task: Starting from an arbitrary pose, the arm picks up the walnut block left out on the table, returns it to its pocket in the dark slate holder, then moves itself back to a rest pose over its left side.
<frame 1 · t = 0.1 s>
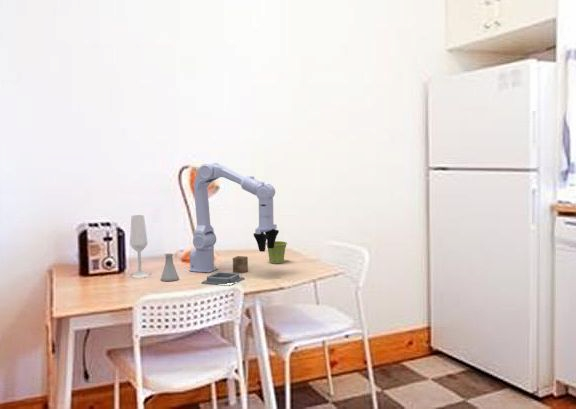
hand: (266, 249, 224), 10 cm above the table, tool pointing down, fingers open, 7 cm apart
holder: (223, 281, 215), on the table
flask: (169, 280, 218), on the table
champagne flute: (140, 276, 225), on the table
block: (240, 271, 231), on the table
plant pot: (276, 262, 249), on the table
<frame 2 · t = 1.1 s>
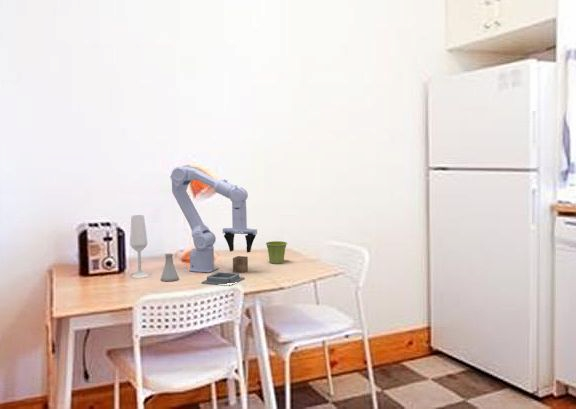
hand: (240, 251, 230), 8 cm above the table, tool pointing down, fingers open, 7 cm apart
nothing on the table moved.
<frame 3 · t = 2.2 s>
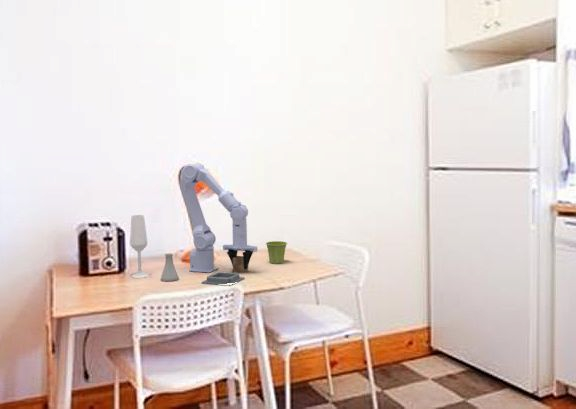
hand: (240, 268, 231), 1 cm above the table, tool pointing down, fingers closed on block, 4 cm apart
block: (240, 271, 231), on the table, touching gripper
everything else where it was.
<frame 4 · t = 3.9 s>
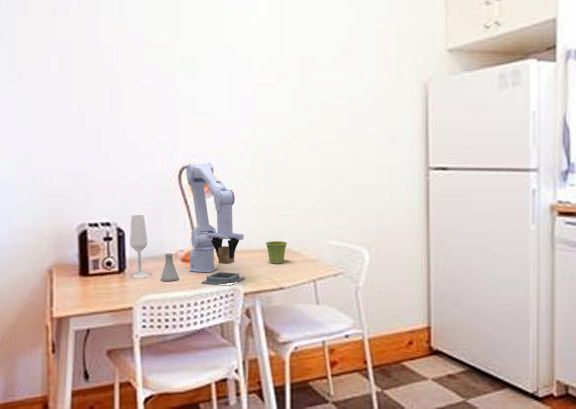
hand: (225, 257, 216), 8 cm above the table, tool pointing down, fingers closed on block, 4 cm apart
block: (226, 262, 217), point 6 cm above the table, touching gripper
everything else where it was.
when the fingers open (3 cm above the table, at t = 5.5 s): block stays where it is, resting on holder.
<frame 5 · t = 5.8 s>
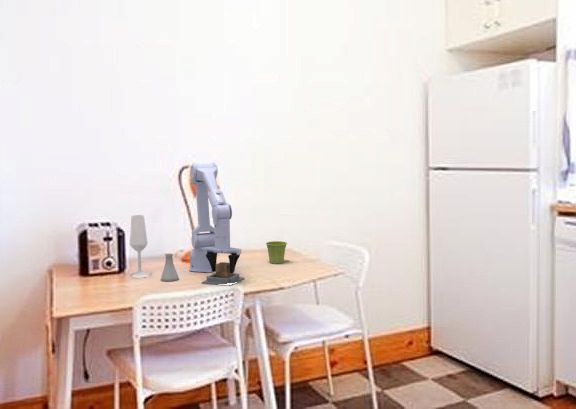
hand: (223, 272, 214), 3 cm above the table, tool pointing down, fingers open, 7 cm apart
block: (224, 279, 215), point 1 cm above the table, touching holder
everything else where it was.
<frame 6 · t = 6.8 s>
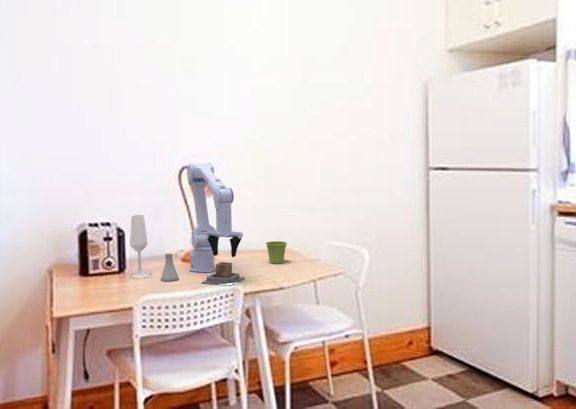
hand: (224, 256, 215), 9 cm above the table, tool pointing down, fingers open, 7 cm apart
nothing on the table moved.
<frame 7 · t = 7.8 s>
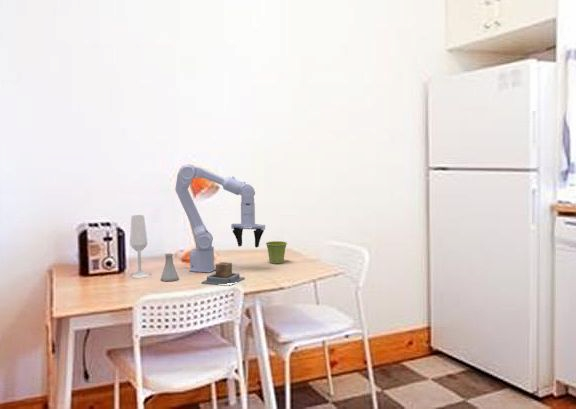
hand: (248, 246, 235), 9 cm above the table, tool pointing down, fingers open, 7 cm apart
nothing on the table moved.
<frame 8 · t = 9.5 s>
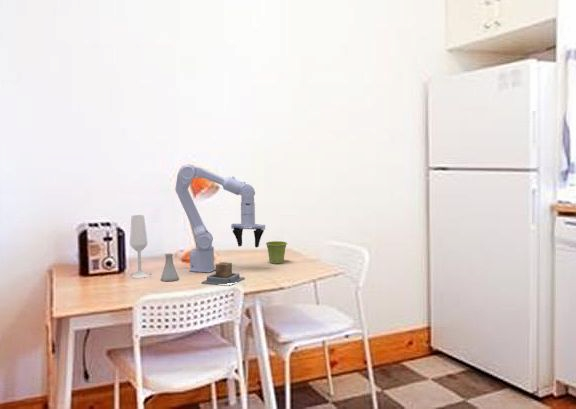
hand: (248, 246, 235), 9 cm above the table, tool pointing down, fingers open, 7 cm apart
nothing on the table moved.
at the end: block 0.5 cm off-centre on the holder, point 0.6 cm above the holder's base; block tilted 0°; the gripper is holding nothing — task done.
